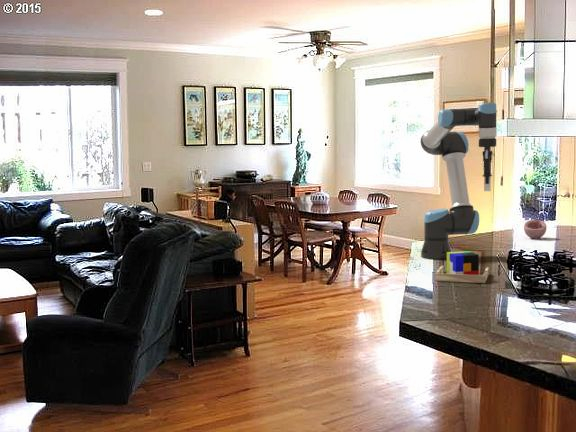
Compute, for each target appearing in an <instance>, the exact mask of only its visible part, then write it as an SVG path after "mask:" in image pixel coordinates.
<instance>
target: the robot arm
mask: <svg viewBox="0 0 576 432" xmlns="http://www.w3.org/2000/svg"><path fill="white" fill-rule="evenodd" d="M497 112H498V110H497V104H496V102H482V103H479V104H478V108H459V109H457V108H456V109H455V108H452V109H451V108H445V109H441V110H439V112H438V115H437V122H436V123H435V124H433V126H432V127H431V128H430V129H429V130H426V131H425V132H424V133H423V134H422V135H421V137H420V146H421V149H423V151H425V152H426V153H428V154H430V155H432V156H441V158H442V161H444V162H445V165H446V172H447V179H448V185H449V192H450V194H449V195H450V201H451V206H450V208H448V209H447V208H437V209H432V210H428V211H426V212H425V213H424V218H423V219H424V220H423V224H424V226H423V228H424V229H423V230H424V231H423V232H424V236H423V237H424V241H423V245H422V248H421V250H420V251H421V252H420V257H422V258H425V259H429V260H430V259H433V260H434V259H435V260H439V259H441V260H442V259H447V252H453V251H452V248H451V245H450V242H449V236H457V235H458V236H459V235H473V234H476V232H477V230H478V229H479V225H480V214H479V212H478V210H476V209H475V210H474V205H472V204H471V203H470V197H469V192H468V183H467V178H466V171H465V170H466V169H465V163H464V159H465V157H466V154H467V153H468V152H469V140H468V138H467V135H466V134H465V133H464V132H462V131H456V130H455V131H452V130H453V129H454V128H455V127H460V126H462V127H463V126H464V127H465V126H468V127H469V126H478V130H477V134H478V138H479V139H478V147H479V148H483V151H482V160H483V174H482V177H483V191H484V192H492V191H491V190H492V189H491V187H492V186H491V184H492V183H491V182H492V180H491V179H492V177H493V174H492V160H493V159H492V157H493V150H492V148H495V147H497V138H496V137H497V129H498V128H497Z"/></svg>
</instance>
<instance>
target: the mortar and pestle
mask: <svg viewBox="0 0 576 432" xmlns="http://www.w3.org/2000/svg"><path fill="white" fill-rule="evenodd" d="M523 231H524V233H525V235H526V236H527V237H529V238H530V239H535V240H537V239H540V238H542V237H543V236H544V235H546V231H547V224H546V222H544V221H543V220H539V219H537V218H534V219H530V220H528V221H526V222H525V223H524V226H523Z"/></svg>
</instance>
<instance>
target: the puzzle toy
mask: <svg viewBox="0 0 576 432" xmlns="http://www.w3.org/2000/svg"><path fill="white" fill-rule="evenodd" d="M479 257H480V255H479V254H478V253H476V252H473V251H469V250H465V251H452V252H447V258H446V274H468V275H480V273H479V272H480V271H479V270H480V269H479V266H480V265H479V263H480V262H479V261H480V260H479V259H480V258H479Z"/></svg>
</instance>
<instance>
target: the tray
mask: <svg viewBox="0 0 576 432" xmlns="http://www.w3.org/2000/svg"><path fill="white" fill-rule="evenodd" d="M444 267H445V266H444V265H440V266H439V267H438V269H437V270H436V271H435V272H434V281H437V282H456V283H479V284H486V282H487V279H488V277H489V274H490V273H489V271H490V270H489V269H490V268H489V267H485V270H484V271H483V273H482V274H479V275H468V274H447V273H446V272H445V273H444V271H445V270H444V269H445V268H444Z"/></svg>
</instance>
